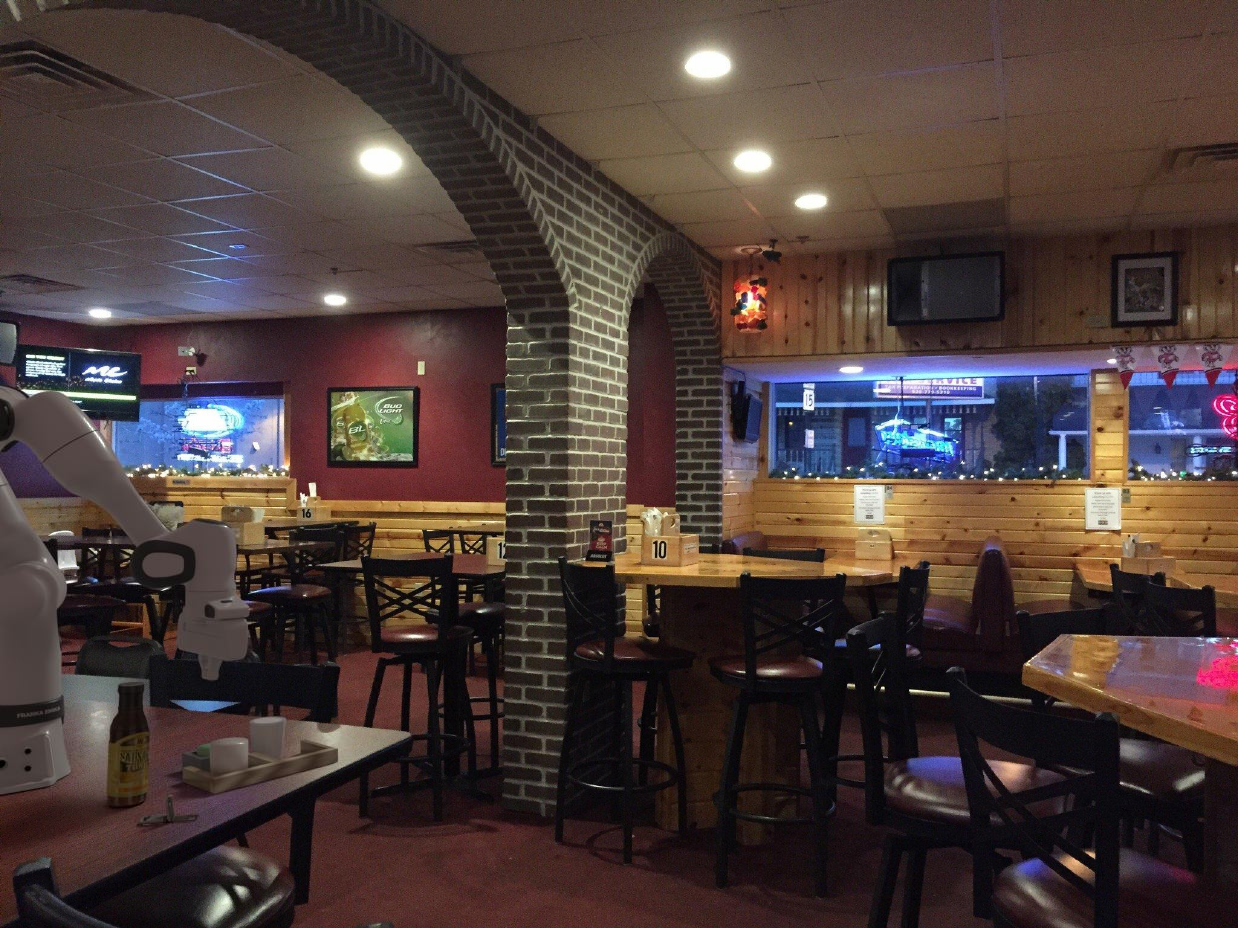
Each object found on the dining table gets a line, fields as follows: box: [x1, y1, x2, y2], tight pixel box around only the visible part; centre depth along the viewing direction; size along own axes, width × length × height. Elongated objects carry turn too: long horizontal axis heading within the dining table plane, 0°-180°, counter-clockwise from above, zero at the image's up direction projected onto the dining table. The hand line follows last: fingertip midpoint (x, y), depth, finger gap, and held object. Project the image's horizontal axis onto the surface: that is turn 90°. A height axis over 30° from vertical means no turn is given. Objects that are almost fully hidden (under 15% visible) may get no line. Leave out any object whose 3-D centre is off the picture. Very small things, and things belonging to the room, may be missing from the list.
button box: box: [181, 749, 210, 773], centre depth 187 cm, size 7×7×3 cm
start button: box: [196, 742, 211, 757], centre depth 187 cm, size 4×4×3 cm
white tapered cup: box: [249, 715, 287, 758], centre depth 196 cm, size 7×7×7 cm
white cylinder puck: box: [209, 736, 249, 776], centre depth 179 cm, size 6×6×7 cm
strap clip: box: [138, 794, 200, 826], centre depth 159 cm, size 8×3×4 cm, turn 105°
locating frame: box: [182, 738, 339, 795], centre depth 185 cm, size 25×11×2 cm, turn 141°
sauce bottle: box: [106, 681, 151, 808], centre depth 168 cm, size 6×6×20 cm
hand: (210, 678), depth 187 cm, fingers closed
